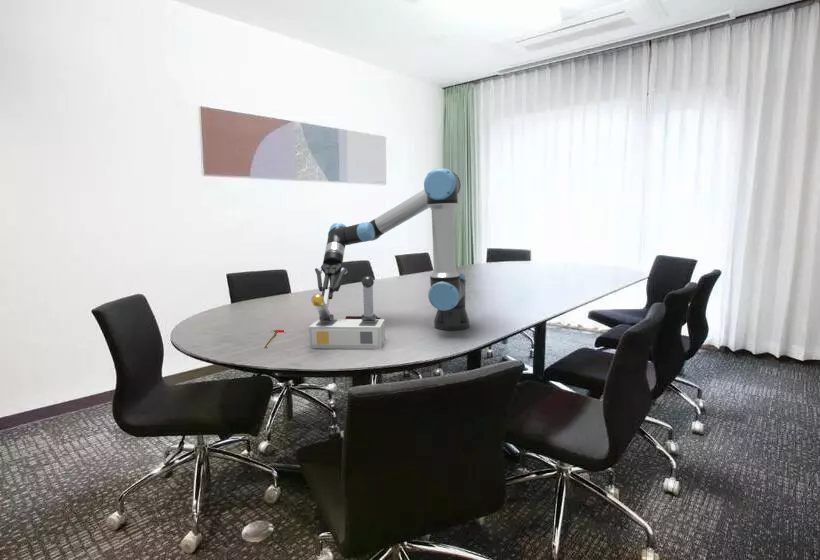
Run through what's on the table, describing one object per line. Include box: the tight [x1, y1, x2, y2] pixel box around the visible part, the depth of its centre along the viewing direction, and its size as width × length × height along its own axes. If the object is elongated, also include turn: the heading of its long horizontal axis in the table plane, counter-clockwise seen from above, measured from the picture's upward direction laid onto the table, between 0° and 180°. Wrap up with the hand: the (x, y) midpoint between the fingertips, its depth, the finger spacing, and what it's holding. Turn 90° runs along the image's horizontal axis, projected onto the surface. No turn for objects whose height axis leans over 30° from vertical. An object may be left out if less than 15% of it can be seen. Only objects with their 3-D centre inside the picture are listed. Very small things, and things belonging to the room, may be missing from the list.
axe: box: [264, 329, 285, 349], centre depth 175 cm, size 26×1×10 cm
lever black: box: [361, 275, 377, 321], centre depth 163 cm, size 5×4×17 cm
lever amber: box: [310, 293, 335, 321], centre depth 159 cm, size 5×4×17 cm
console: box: [308, 318, 386, 350], centre depth 166 cm, size 26×12×8 cm, turn 85°
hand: (325, 305), depth 164 cm, fingers closed
